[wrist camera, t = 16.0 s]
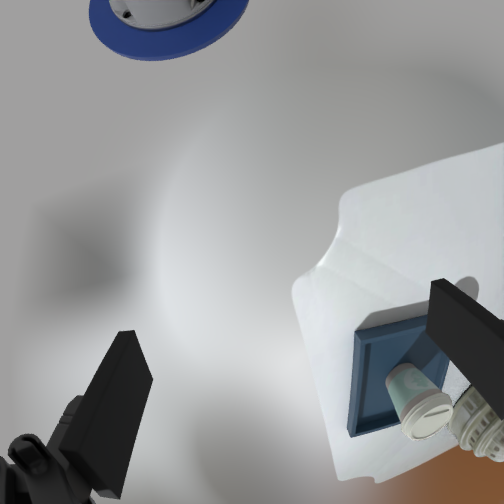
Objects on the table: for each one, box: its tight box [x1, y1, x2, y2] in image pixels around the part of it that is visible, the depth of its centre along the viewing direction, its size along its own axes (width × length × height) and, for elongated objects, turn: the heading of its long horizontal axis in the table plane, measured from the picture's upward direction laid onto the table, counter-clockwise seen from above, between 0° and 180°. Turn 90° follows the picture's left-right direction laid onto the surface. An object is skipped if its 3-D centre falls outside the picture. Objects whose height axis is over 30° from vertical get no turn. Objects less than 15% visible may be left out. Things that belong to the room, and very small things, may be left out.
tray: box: [347, 315, 450, 438], centre depth 45 cm, size 22×18×3 cm
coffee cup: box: [385, 363, 453, 441], centre depth 39 cm, size 8×9×12 cm
